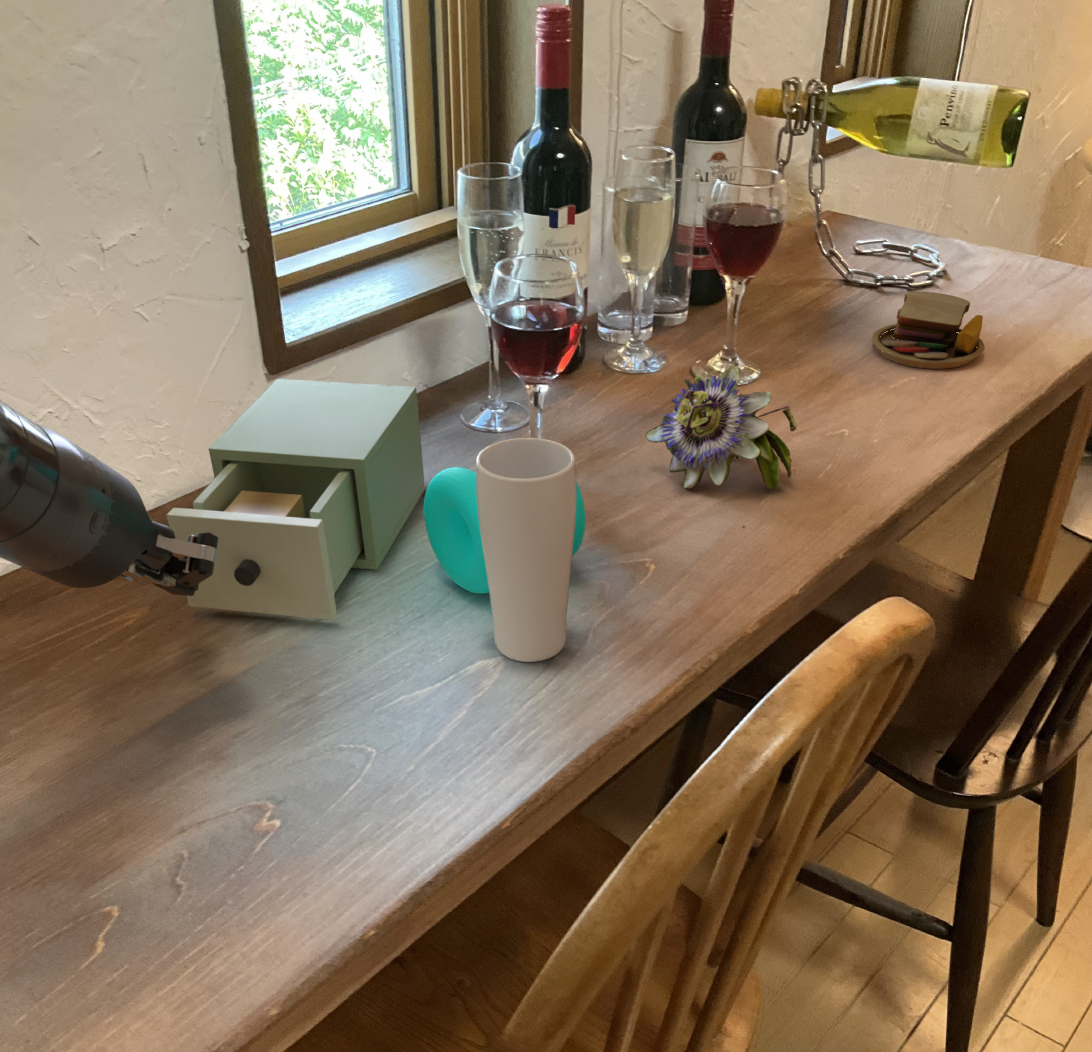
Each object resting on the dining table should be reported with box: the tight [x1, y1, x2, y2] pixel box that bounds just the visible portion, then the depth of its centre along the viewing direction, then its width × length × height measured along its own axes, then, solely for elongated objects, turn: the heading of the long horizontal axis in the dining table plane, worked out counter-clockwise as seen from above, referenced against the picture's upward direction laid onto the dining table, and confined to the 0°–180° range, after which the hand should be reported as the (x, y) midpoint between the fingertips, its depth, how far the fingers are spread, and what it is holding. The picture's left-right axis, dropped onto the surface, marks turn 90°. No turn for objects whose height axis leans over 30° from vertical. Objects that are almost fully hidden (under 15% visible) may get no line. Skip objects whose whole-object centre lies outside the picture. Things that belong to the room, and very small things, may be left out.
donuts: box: [423, 466, 587, 595], centre depth 89 cm, size 10×10×10 cm
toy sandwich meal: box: [871, 291, 986, 370], centre depth 129 cm, size 12×14×5 cm
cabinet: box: [208, 378, 426, 571], centre depth 97 cm, size 15×13×10 cm
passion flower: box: [644, 363, 798, 492], centre depth 104 cm, size 11×11×12 cm
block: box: [224, 491, 306, 518], centre depth 88 cm, size 5×5×5 cm
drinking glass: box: [475, 437, 577, 663], centre depth 79 cm, size 7×7×15 cm
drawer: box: [166, 461, 364, 621], centre depth 89 cm, size 15×12×8 cm
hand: (186, 581), depth 81 cm, fingers closed
